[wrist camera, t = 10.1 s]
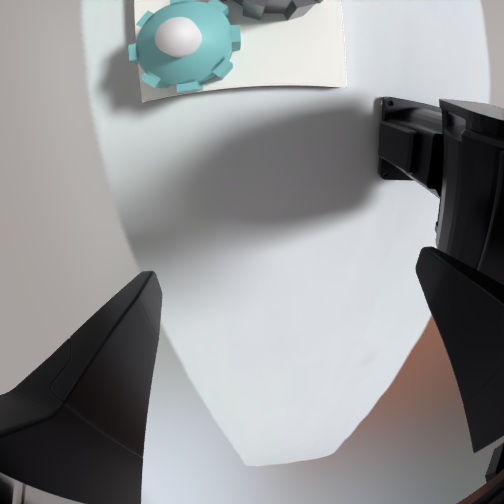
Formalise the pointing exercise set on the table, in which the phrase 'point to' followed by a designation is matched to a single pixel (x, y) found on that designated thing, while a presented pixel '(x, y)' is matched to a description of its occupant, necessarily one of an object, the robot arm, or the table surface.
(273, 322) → the table surface
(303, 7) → the gear
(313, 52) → the gear board
